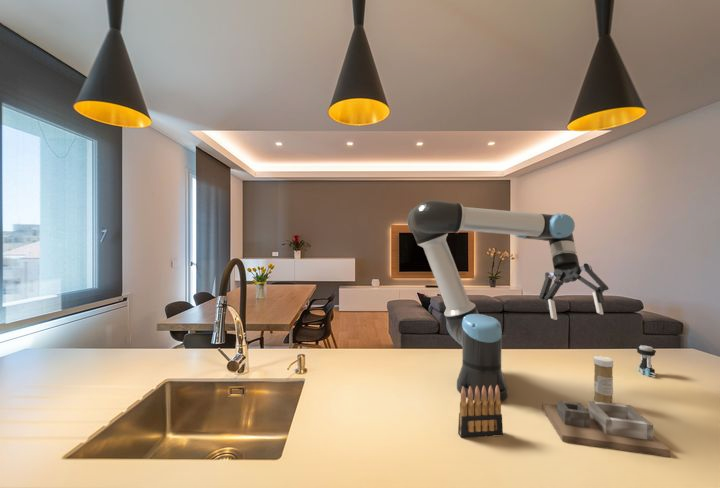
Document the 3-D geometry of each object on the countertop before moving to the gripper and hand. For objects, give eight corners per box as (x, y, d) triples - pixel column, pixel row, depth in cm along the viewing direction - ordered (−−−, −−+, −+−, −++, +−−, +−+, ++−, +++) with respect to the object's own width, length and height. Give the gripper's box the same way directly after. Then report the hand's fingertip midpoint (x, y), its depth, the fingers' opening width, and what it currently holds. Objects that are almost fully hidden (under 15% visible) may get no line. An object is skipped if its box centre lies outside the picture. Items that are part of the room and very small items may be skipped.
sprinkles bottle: (595, 398, 97) (594, 354, 97) (614, 403, 94) (613, 357, 94) (592, 403, 93) (592, 358, 94) (612, 409, 90) (612, 361, 90)
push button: (663, 379, 111) (662, 350, 111) (646, 378, 112) (646, 349, 112) (648, 371, 118) (648, 344, 118) (632, 370, 119) (632, 344, 119)
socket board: (562, 441, 75) (562, 420, 75) (542, 408, 90) (541, 390, 90) (670, 456, 70) (669, 434, 70) (628, 418, 85) (628, 400, 85)
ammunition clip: (499, 431, 79) (499, 383, 79) (503, 435, 77) (503, 386, 78) (457, 433, 78) (458, 384, 78) (461, 438, 76) (461, 388, 76)
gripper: (610, 249, 103) (627, 313, 94) (534, 268, 122) (543, 323, 113) (600, 241, 100) (617, 308, 91) (524, 262, 119) (531, 318, 110)
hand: (576, 316), depth 102 cm, fingers open, 13 cm apart
